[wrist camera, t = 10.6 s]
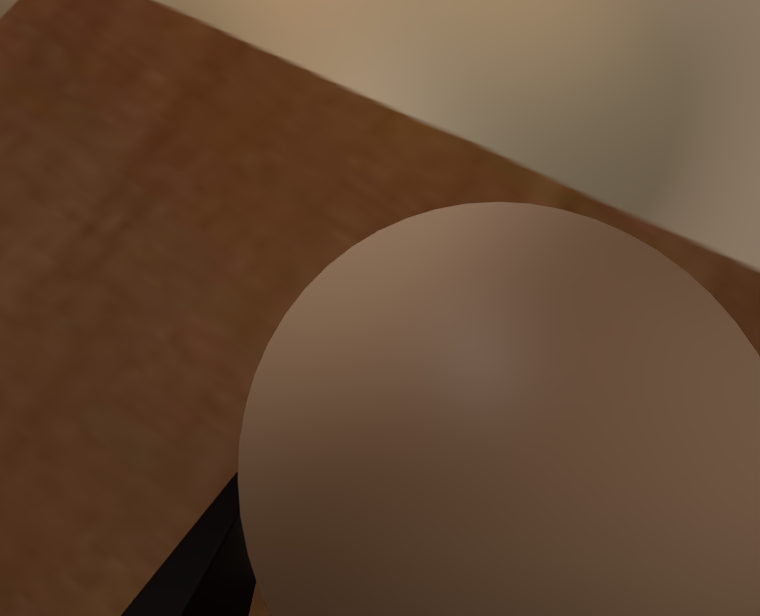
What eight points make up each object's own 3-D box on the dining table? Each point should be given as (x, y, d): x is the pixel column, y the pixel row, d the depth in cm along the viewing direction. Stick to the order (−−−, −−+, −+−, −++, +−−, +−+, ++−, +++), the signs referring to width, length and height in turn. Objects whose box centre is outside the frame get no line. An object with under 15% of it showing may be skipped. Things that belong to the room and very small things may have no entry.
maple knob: (525, 414, 16) (933, 472, 4) (429, 512, 16) (525, 977, 3) (430, 318, 18) (495, 115, 5) (337, 407, 17) (135, 437, 4)
